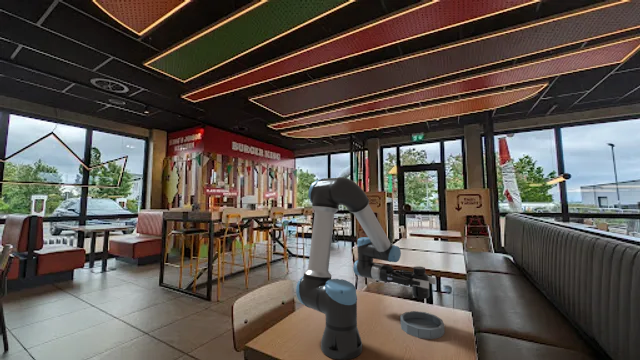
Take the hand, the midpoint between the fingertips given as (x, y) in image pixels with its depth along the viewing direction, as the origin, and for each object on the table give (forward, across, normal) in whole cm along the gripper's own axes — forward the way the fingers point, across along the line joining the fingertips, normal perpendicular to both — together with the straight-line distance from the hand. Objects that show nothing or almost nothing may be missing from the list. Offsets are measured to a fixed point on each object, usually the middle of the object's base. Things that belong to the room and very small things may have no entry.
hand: (431, 283), depth 110 cm
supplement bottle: (-5, 0, -7) cm, 8 cm away
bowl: (-5, 0, -20) cm, 20 cm away
